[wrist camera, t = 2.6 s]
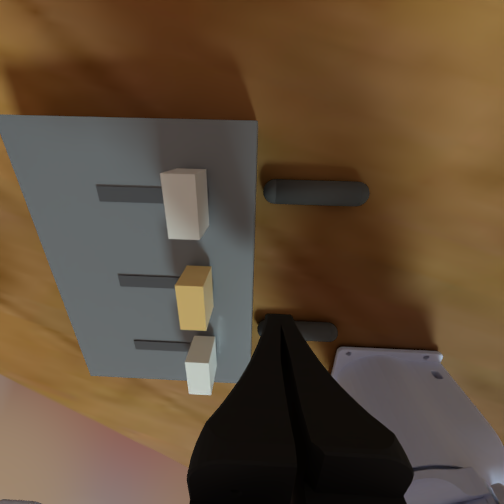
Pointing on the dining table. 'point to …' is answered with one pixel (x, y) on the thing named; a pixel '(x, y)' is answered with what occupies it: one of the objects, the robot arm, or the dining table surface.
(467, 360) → the dining table surface
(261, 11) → the dining table surface
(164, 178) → the paddle
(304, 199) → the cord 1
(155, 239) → the grey slider panel
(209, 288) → the paddle middle
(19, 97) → the dining table surface
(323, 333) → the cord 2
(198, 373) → the paddle
